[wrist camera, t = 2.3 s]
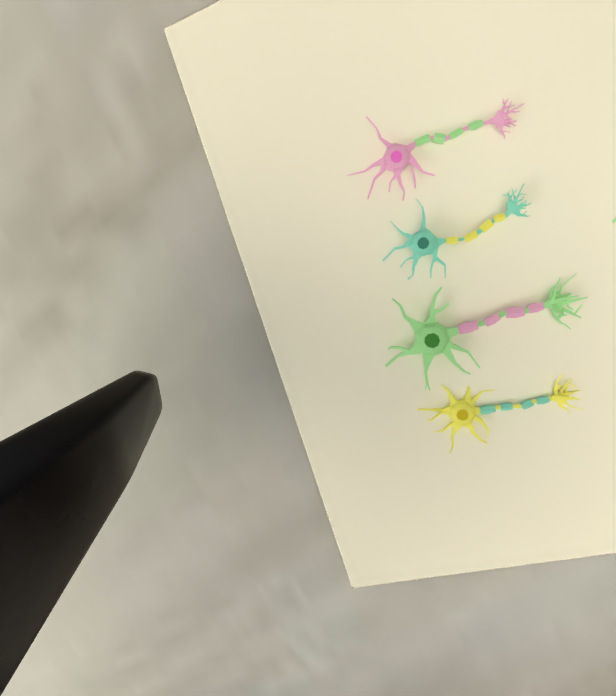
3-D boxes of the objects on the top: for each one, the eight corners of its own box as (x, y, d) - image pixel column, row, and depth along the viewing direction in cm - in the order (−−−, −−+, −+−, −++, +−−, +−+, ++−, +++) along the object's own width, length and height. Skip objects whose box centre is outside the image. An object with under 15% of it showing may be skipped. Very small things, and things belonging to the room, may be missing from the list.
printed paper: (352, 583, 28) (349, 602, 27) (167, 31, 23) (151, 19, 22) (1062, 487, 20) (1111, 507, 19) (998, -386, 15) (1056, -448, 14)
